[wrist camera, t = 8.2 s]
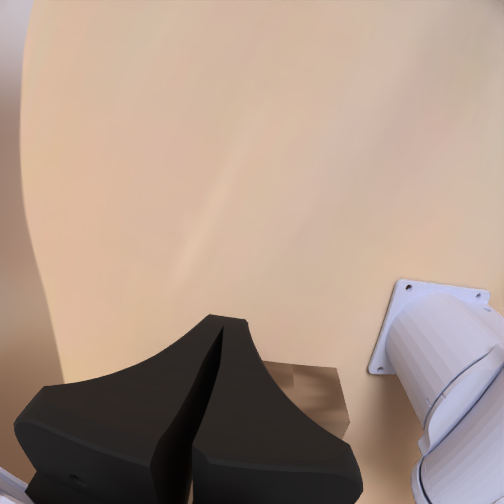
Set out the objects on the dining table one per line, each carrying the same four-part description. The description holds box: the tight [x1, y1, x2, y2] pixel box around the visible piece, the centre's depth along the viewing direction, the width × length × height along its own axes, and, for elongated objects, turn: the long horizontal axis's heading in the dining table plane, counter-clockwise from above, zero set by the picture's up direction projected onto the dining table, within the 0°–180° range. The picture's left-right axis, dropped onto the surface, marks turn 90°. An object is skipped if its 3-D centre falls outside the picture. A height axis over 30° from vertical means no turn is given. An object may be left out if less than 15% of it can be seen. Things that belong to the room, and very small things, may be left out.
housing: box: [188, 361, 350, 504], centre depth 23 cm, size 13×22×6 cm, turn 173°
